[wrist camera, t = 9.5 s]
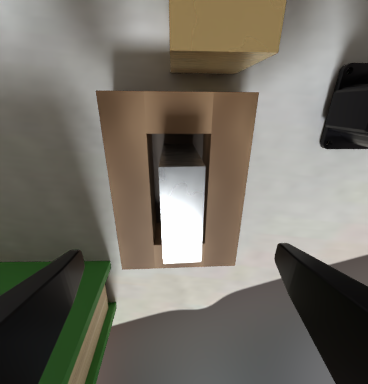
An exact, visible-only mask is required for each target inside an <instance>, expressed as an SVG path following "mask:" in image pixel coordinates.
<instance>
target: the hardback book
mask: <svg viewBox="0 0 368 384" xmlns="http://www.w3.org/2000/svg"><path fill="white" fill-rule="evenodd" d="M50 263H51V262H0V295H2V294H3V293H5V292H7V291H8V290H10V289H11V288H13V287H14V286H16V285H17V284H19V283H20V282H22V281H24V280H25V279H27V278H28V277H30V276H31V275H33V274H34V273H36V272H37V271H39V270H41V269H42V268H44V267H45V266H47V265H48V264H50ZM84 264H85V268H84V272H83V275H82V278H81V281H80V284H79V288H78V291H77V294H76V297H75V300H74V303H73V305H72V308H71V310H70V312H69V315H68V317H67V319H66V322H65V324H64V326H63V328H62V331H61V333H60V335H59V338H58V340H57V342H56V344H55V347H54V349H53V351H52V354H51V356H50V358H49V360H48V363H47V365H46V367H45V370H44V372H43V374H42V376H41V379H40V381H39V383H38V384H96V381H97V377H98V374H99V370H100V366H101V363H102V359H103V355H104V351H105V348H106V344H107V340H108V337H109V333H110V329H111V326H112V322H113V319H114V315H115V311H116V302H112V303H108V301H107V294H106V288H105V282H106V280H107V277H108V274H109V272H110V269H111V264H110V261H84Z"/></svg>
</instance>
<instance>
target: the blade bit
mask: <svg viewBox="0 0 368 384" xmlns="http://www.w3.org/2000/svg"><path fill="white" fill-rule="evenodd" d="M158 170H159V189H160V208H161V228H162V247H163V263H188V262H201V261H202V238H203V215H204V193H205V170H206V166H205V164H204V162H203V161H202V159H201V157H200V155H199V153H198V152H197V150H196V148H195V146H194V144H193V143H175V144H163V148H162V153H161V157H160V162H159V167H158Z"/></svg>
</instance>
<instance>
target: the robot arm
mask: <svg viewBox="0 0 368 384" xmlns="http://www.w3.org/2000/svg"><path fill="white" fill-rule="evenodd" d="M348 68H349V73H348V74H347V69H348ZM327 141H329V143H328V144H327V145H326V143H327ZM320 145H321V147H322V148H325V149H368V63H350V64H346V65H344V66H343V67H342V68H341V70H340V72H339V76H338V80H337V84H336V87H335V91H334V94H333V97H332V101H331V105H330V108H329V112H328V116H327V120H326V123H325V128H324V132H323V135H322V139H321V143H320ZM275 263H276V265H277V268H278V270H279V273H280V275H281V278H282V280H283V283H284V285H285V287H286V290H287V292H288V294H289V296H290V298H291V300H292V302H293V304H294V306H295V308H296V309H297V311H298V313H299V315H300V317H301V319H302V321H303V323H304V325H305V327H306V328H307V330H308V332H309V334H310V336H311V338H312V340H313V342H314V344H315V346H316V347H317V349H318V351H319V353H320V355H321V357H322V359H323V361H324V362H325V364H326V366H327V368H328V370H329V372H330V374H331V376H332V378H333V380H334V381H335V383H336V384H368V286H366V285H364V284H362V283H360V282H358V281H357V280H355V279H353V278H351V277H349V276H347V275H346V274H344V273H342V272H340V271H338V270H336V269H334V268H332V267H331V266H329V265H327V264H325V263H323V262H322V261H320V260H318V259H316V258H314V257H312V256H311V255H309V254H307V253H305V252H303V251H301V250H300V249H298V248H296V247H294V246H292V245H290V244H288V243H279V244H278V245H277V249H276V253H275ZM84 268H85V264H84V259H83V255H82V252H81V250H70V251H68V252H67V253H65V254H64V255H62V256H61V257H59V258H57V259H56V260H54V261H53V262H51V263H50V264H48V265H47V266H45V267H44V268H42V269H41V270H39V271H37V272H36V273H34V274H33V275H31V276H30V277H28V278H27V279H25V280H24V281H22V282H20V283H19V284H17V285H16V286H14V287H13V288H11V289H10V290H8V291H7V292H5V293H3V294H2V295H0V384H38V383H39V381H40V379H41V376H42V374H43V372H44V370H45V367H46V365H47V363H48V360H49V358H50V356H51V354H52V351H53V349H54V347H55V344H56V342H57V340H58V338H59V335H60V333H61V331H62V328H63V326H64V324H65V322H66V319H67V317H68V315H69V312H70V310H71V308H72V305H73V303H74V300H75V297H76V294H77V291H78V288H79V284H80V281H81V278H82V275H83V272H84Z"/></svg>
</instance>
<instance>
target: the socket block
mask: <svg viewBox="0 0 368 384" xmlns="http://www.w3.org/2000/svg"><path fill="white" fill-rule="evenodd" d="M258 95H259V92H177V91H96V96H97V103H98V109H99V116H100V123H101V130H102V136H103V143H104V150H105V157H106V163H107V170H108V177H109V184H110V190H111V197H112V204H113V211H114V217H115V224H116V231H117V238H118V244H119V251H120V258H121V265H122V270H123V269H151V268H179V267H207V266H235V262H236V254H237V247H238V240H239V233H240V225H241V218H242V211H243V204H244V196H245V189H246V182H247V175H248V167H249V160H250V153H251V146H252V138H253V131H254V124H255V117H256V109H257V102H258ZM175 143H193V144H194V146H195V148H196V150H197V152H198V153H199V155H200V157H201V159H202V161H203V162H204V164H205V166H206V170H205V193H204V215H203V238H202V261H201V262H188V263H163V247H162V228H161V208H160V189H159V170H158V167H159V162H160V157H161V153H162V148H163V144H175Z"/></svg>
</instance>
